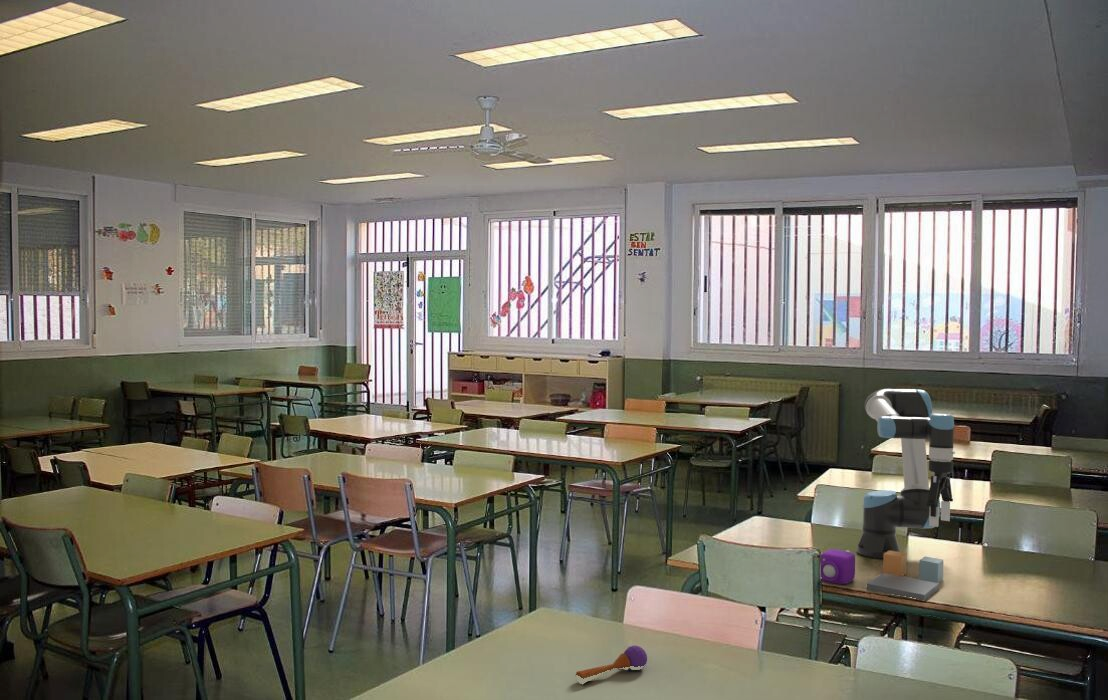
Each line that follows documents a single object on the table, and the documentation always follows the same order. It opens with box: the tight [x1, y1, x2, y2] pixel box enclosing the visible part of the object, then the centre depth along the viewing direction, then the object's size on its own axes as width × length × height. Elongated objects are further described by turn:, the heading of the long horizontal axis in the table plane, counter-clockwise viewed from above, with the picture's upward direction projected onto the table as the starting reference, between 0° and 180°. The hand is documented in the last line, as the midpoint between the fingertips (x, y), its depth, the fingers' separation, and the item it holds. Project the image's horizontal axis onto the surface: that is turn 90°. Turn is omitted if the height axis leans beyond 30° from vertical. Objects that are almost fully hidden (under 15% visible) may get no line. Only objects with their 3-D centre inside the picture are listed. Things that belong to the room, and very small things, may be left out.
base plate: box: [866, 572, 940, 602], centre depth 291 cm, size 18×16×2 cm
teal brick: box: [918, 556, 944, 584], centre depth 302 cm, size 6×6×7 cm
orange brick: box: [882, 550, 908, 576], centre depth 309 cm, size 6×6×7 cm
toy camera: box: [820, 548, 856, 585], centre depth 298 cm, size 11×14×10 cm
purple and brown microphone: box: [575, 645, 648, 679], centre depth 218 cm, size 6×6×20 cm
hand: (939, 523), depth 300 cm, fingers open, 13 cm apart
